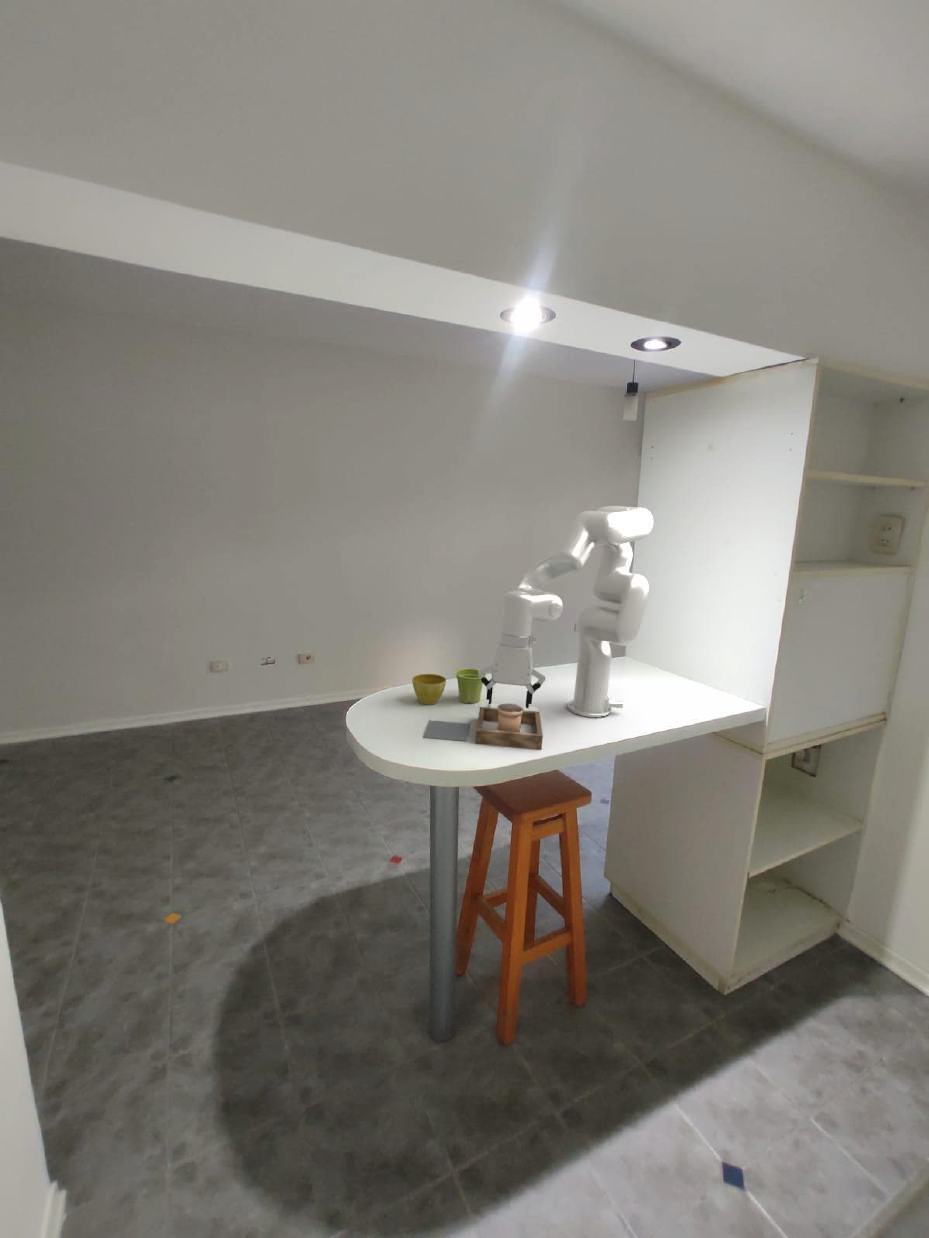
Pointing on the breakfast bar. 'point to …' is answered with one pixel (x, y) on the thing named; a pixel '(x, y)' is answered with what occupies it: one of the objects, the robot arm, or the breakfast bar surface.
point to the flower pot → (428, 687)
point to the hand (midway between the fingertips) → (508, 704)
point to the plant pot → (469, 685)
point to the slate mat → (447, 730)
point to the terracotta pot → (509, 717)
